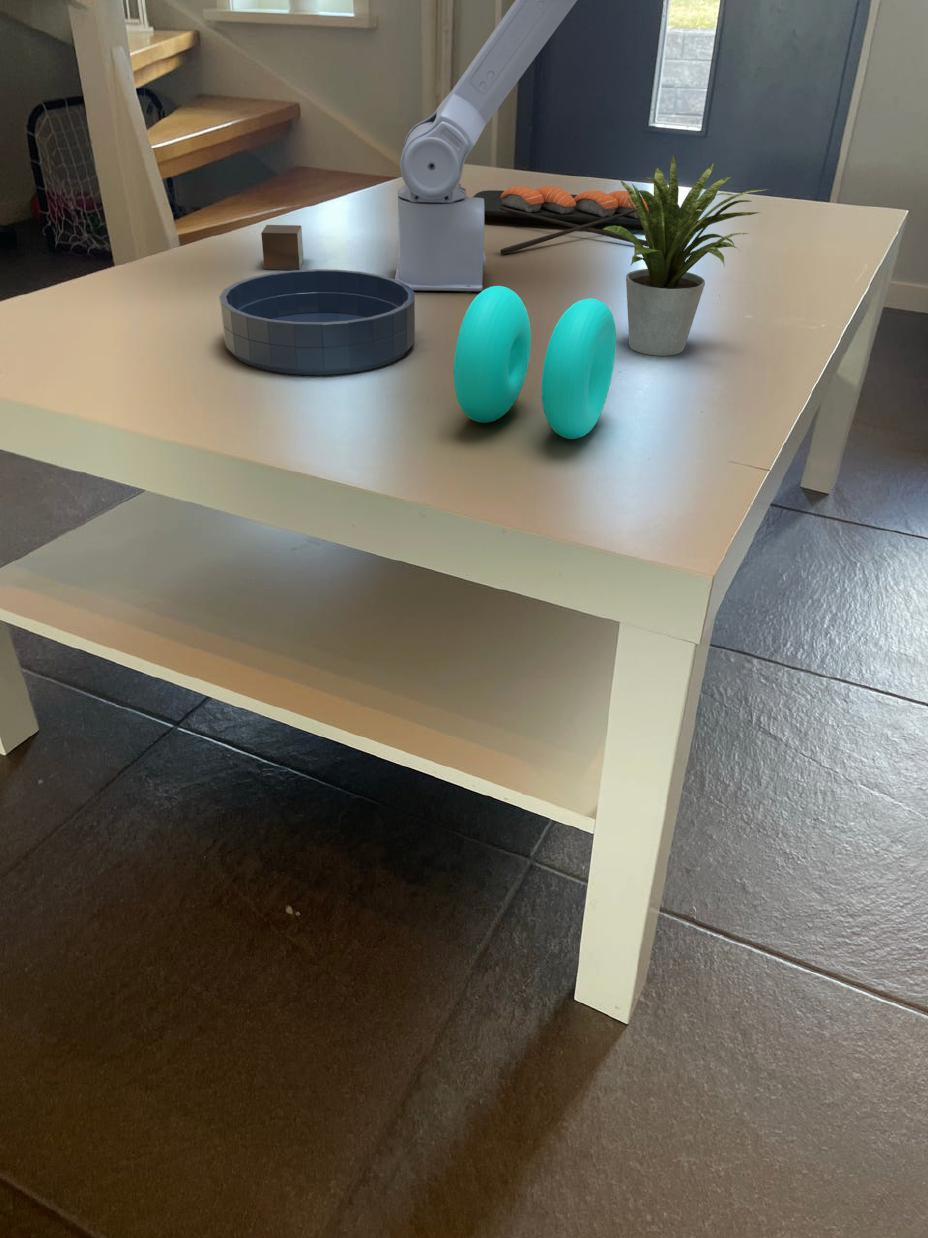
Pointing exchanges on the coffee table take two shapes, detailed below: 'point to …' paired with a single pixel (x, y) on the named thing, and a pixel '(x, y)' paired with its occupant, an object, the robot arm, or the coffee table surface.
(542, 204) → the sushi plate
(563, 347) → the donuts
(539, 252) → the coffee table surface
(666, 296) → the house plant
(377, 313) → the bowl
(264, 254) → the block
